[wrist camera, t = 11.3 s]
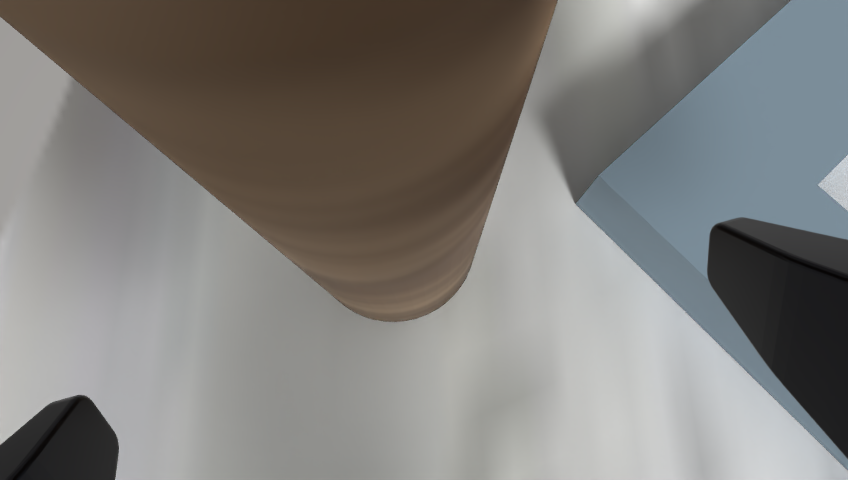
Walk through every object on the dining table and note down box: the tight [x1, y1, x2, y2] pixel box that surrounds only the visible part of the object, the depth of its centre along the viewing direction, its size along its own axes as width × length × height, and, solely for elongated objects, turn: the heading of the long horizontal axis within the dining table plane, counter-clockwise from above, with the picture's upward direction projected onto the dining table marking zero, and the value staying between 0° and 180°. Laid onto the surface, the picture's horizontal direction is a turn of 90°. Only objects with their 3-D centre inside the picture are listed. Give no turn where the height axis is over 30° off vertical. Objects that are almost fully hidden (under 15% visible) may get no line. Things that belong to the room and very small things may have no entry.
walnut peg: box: [0, 0, 558, 322], centre depth 10 cm, size 5×5×14 cm
